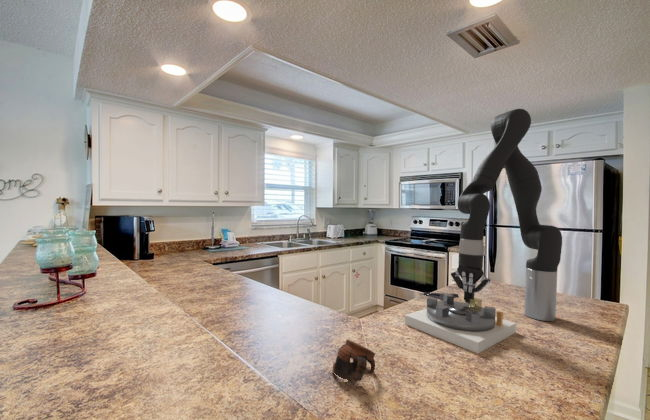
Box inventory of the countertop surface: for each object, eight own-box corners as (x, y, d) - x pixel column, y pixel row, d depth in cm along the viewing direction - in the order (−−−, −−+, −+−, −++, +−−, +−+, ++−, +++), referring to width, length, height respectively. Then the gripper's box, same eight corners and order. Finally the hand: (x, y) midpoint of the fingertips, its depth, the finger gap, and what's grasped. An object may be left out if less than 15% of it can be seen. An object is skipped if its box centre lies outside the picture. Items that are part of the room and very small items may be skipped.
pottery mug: (325, 368, 73) (338, 334, 76) (359, 384, 74) (371, 350, 77) (338, 383, 62) (354, 343, 65) (378, 402, 63) (392, 361, 66)
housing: (445, 310, 115) (446, 291, 115) (515, 332, 96) (516, 310, 96) (404, 324, 101) (405, 303, 100) (477, 353, 81) (478, 327, 81)
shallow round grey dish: (452, 304, 112) (452, 291, 112) (508, 323, 95) (509, 307, 95) (413, 313, 102) (414, 298, 101) (468, 336, 84) (469, 318, 84)
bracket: (432, 307, 120) (432, 300, 120) (423, 295, 135) (423, 289, 135) (470, 309, 119) (470, 302, 119) (456, 297, 134) (457, 291, 134)
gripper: (496, 254, 101) (493, 305, 102) (457, 248, 111) (455, 295, 112) (486, 256, 97) (484, 310, 97) (446, 250, 107) (444, 299, 107)
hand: (468, 302), depth 104 cm, fingers closed
